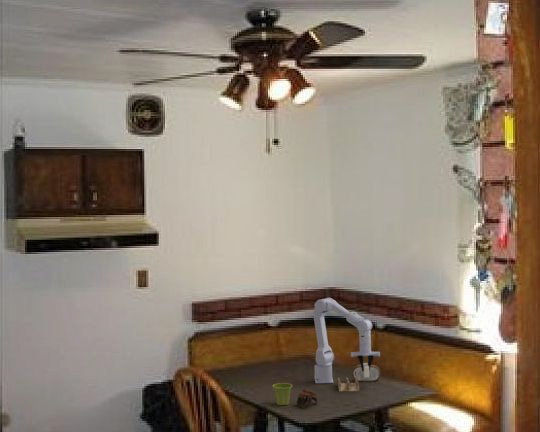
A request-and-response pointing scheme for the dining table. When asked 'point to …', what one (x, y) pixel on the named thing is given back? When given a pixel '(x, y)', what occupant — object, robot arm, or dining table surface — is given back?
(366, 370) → the tile
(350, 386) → the rack
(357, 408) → the dining table surface
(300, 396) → the pottery mug
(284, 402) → the plant pot
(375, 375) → the tin
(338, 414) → the dining table surface
